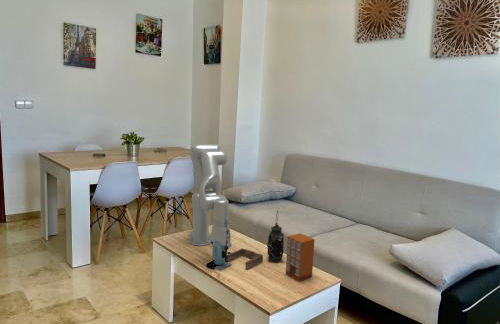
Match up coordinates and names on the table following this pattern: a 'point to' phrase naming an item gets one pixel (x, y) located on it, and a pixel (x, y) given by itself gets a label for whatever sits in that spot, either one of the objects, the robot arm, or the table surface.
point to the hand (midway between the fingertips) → (219, 255)
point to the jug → (218, 254)
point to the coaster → (223, 266)
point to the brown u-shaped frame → (254, 257)
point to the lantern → (275, 244)
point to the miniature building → (299, 256)
